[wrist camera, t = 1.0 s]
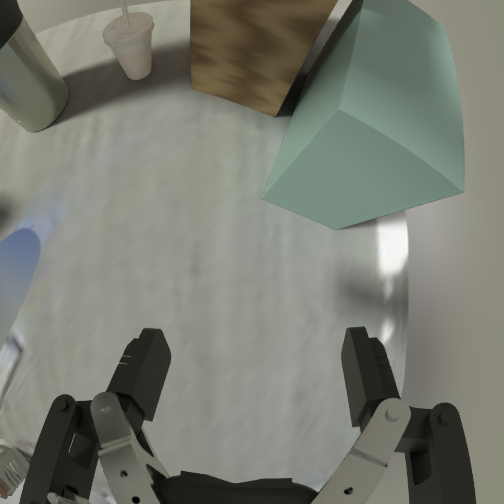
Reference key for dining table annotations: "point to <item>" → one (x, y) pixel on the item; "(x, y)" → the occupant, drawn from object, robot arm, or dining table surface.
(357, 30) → the pale teal block
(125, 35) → the smoothie
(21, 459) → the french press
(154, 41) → the dining table surface
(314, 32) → the tall wooden block
